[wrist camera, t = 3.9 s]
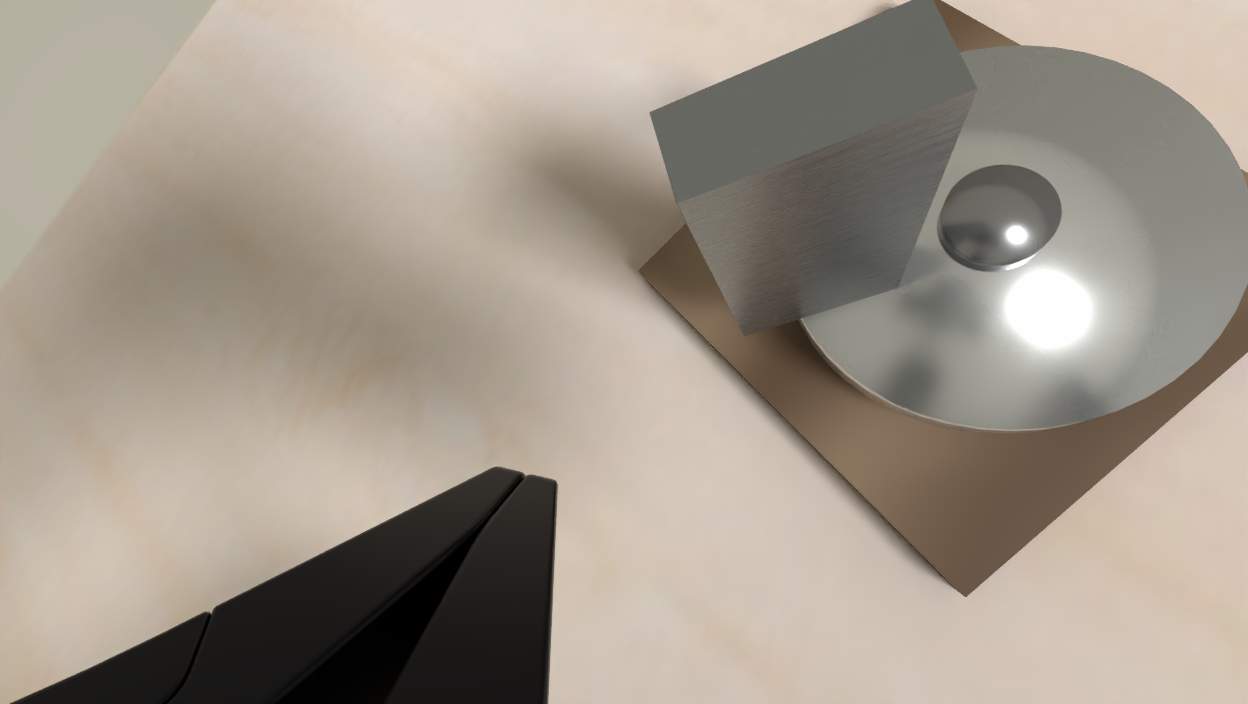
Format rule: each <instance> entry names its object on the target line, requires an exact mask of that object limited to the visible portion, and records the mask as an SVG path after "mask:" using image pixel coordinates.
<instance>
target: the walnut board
mask: <svg viewBox="0 0 1248 704" xmlns="http://www.w3.org/2000/svg"><path fill="white" fill-rule="evenodd" d="M933 1H934V3H935V5H936V7H937V9H938V11H939V13H940V15H941V16H942V18H943V20H944V22H945V24H946V26H947V28H948V30H949V32H950V34H951V36H952V38H953V40H954V42H955V44H956V46H957V48H958V50H959V52H964V51H969V50H975V49H983V48H991V47H999V46H1021V45H1019V44H1018V43H1016V42H1014V41H1012V40H1010V39H1009V38H1007V37H1005V36H1003V35H1002V34H1000V33H998V32H996V31H994V30H993V29H991V28H989V27H987V26H986V25H984V24H982V23H980V22H978V21H977V20H975V19H973V18H971V17H970V16H968V15H966V14H964V13H962V12H961V11H959V10H957V9H955V8H954V7H952V6H950V5H948V4H947V3H945V2H943V1H941V0H933ZM1241 171H1242V173H1243V176H1244V179H1245V182H1246V185H1247V188H1248V173H1247V172H1245V171H1243V170H1242V169H1241ZM639 272H640V273H641V274H642V276H643V277H644V278H645V279H646V280H647V281H648V282H649V283H650V284H651V285H652V286H653V287H654V288H655V289H656V290H657V291H658V292H659V293H660V294H661V295H662V296H663V297H664V298H665V299H666V300H667V301H668V302H669V303H670V304H671V305H672V306H673V307H674V308H675V309H676V310H677V311H678V312H679V313H680V314H681V315H682V316H683V317H684V318H685V319H686V320H687V321H688V322H689V323H690V324H691V325H692V326H693V327H694V328H695V329H696V330H697V331H698V332H699V333H700V334H701V335H702V336H703V337H704V338H705V339H706V340H707V341H708V342H709V343H710V344H711V345H712V346H713V347H714V348H715V349H716V350H717V351H718V352H719V353H720V354H721V355H722V356H723V357H724V358H725V359H726V360H727V361H728V362H729V363H730V364H731V365H732V366H733V367H734V368H735V369H736V370H737V371H738V372H739V373H740V374H741V375H742V376H743V377H744V378H745V379H746V380H747V381H748V382H749V383H750V384H751V385H752V386H753V387H754V388H755V389H756V390H757V391H758V392H759V393H760V394H761V395H762V396H763V397H764V398H765V399H766V400H767V401H768V402H769V403H770V404H771V405H772V406H773V407H774V408H775V409H776V410H777V411H778V412H779V413H780V414H781V415H782V416H783V417H784V418H785V419H786V420H787V421H788V422H789V423H790V424H791V425H792V426H793V427H794V428H795V429H796V430H797V431H798V432H799V433H800V434H801V435H802V436H803V437H804V438H805V439H806V440H807V441H808V442H809V443H810V444H811V445H812V446H813V447H814V448H815V449H816V450H817V451H818V452H819V453H820V454H821V455H822V456H823V457H824V458H825V459H826V460H827V461H828V462H829V463H830V464H831V465H832V466H833V467H834V468H835V469H836V470H837V471H838V472H839V473H840V474H841V475H842V476H843V477H844V478H845V479H846V480H847V481H848V482H849V483H850V484H851V485H852V486H853V487H854V488H855V489H856V490H857V491H858V492H859V493H860V494H861V495H862V496H863V497H864V498H865V499H866V500H867V501H868V502H869V503H870V504H871V505H872V506H873V507H874V508H875V509H876V510H877V511H878V512H879V513H880V514H881V515H882V516H883V517H884V518H885V519H886V520H887V521H888V522H889V523H890V524H891V525H892V526H893V527H894V528H895V529H896V530H897V531H898V532H899V533H900V534H901V535H902V536H903V537H904V538H905V539H906V540H907V541H908V542H909V543H910V544H911V545H912V546H913V547H914V548H915V549H916V550H917V551H918V552H919V553H920V554H921V555H922V556H923V557H924V558H925V559H926V560H927V561H928V562H929V563H930V564H931V565H932V566H933V567H934V568H935V569H936V570H937V571H938V572H939V573H940V574H941V575H942V576H943V577H944V578H945V579H946V580H947V581H948V582H949V583H950V584H951V585H952V586H953V587H954V588H955V589H956V590H957V591H958V592H959V593H961V594H962V595H963V596H965V597H967V596H968V595H969V594H970V593H971V592H972V591H974V590H975V589H976V588H977V587H978V586H979V585H980V584H982V583H983V582H984V581H985V580H986V579H987V578H988V577H990V576H991V575H992V574H993V573H994V572H995V571H997V570H998V569H999V568H1000V567H1001V566H1002V565H1003V564H1005V563H1006V562H1007V561H1008V560H1009V559H1010V558H1011V557H1013V556H1014V555H1015V554H1016V553H1017V552H1018V551H1020V550H1021V549H1022V548H1023V547H1024V546H1025V545H1026V544H1028V543H1029V542H1030V541H1031V540H1032V539H1033V538H1034V537H1036V536H1037V535H1038V534H1039V533H1040V532H1041V531H1043V530H1044V529H1045V528H1046V527H1047V526H1048V525H1049V524H1051V523H1052V522H1053V521H1054V520H1055V519H1056V518H1057V517H1059V516H1060V515H1061V514H1062V513H1063V512H1064V511H1066V510H1067V509H1068V508H1069V507H1070V506H1071V505H1072V504H1074V503H1075V502H1076V501H1077V500H1078V499H1079V498H1080V497H1082V496H1083V495H1084V494H1085V493H1086V492H1087V491H1089V490H1090V489H1091V488H1092V487H1093V486H1094V485H1095V484H1097V483H1098V482H1099V481H1100V480H1101V479H1102V478H1103V477H1105V476H1106V475H1107V474H1108V473H1109V472H1110V471H1112V470H1113V469H1114V468H1115V467H1116V466H1117V465H1118V464H1120V463H1121V462H1122V461H1123V460H1124V459H1125V458H1126V457H1128V456H1129V455H1130V454H1131V453H1132V452H1133V451H1135V450H1136V449H1137V448H1138V447H1139V446H1140V445H1141V444H1143V443H1144V442H1145V441H1146V440H1147V439H1148V438H1149V437H1151V436H1152V435H1153V434H1154V433H1155V432H1156V431H1158V430H1159V429H1160V428H1161V427H1162V426H1163V425H1164V424H1166V423H1167V422H1168V421H1169V420H1170V419H1171V418H1172V417H1174V416H1175V415H1176V414H1177V413H1178V412H1179V411H1180V410H1182V409H1183V408H1184V407H1185V406H1186V405H1187V404H1189V403H1190V402H1191V401H1192V400H1193V399H1194V398H1195V397H1197V396H1198V395H1199V394H1200V393H1201V392H1202V391H1203V390H1205V389H1206V388H1207V387H1208V386H1209V385H1210V384H1212V383H1213V382H1214V381H1215V380H1216V379H1217V378H1218V377H1220V376H1221V375H1222V374H1223V373H1224V372H1225V371H1226V370H1228V369H1229V368H1230V367H1231V366H1232V365H1233V364H1235V363H1236V362H1237V361H1238V360H1239V359H1240V358H1241V357H1243V356H1244V355H1245V354H1246V353H1247V352H1248V284H1247V286H1246V289H1245V291H1244V293H1243V296H1242V298H1241V300H1240V303H1239V305H1238V308H1237V310H1236V312H1235V313H1234V315H1233V316H1232V318H1231V320H1230V321H1229V323H1228V324H1227V326H1226V327H1225V329H1224V331H1223V332H1222V334H1221V335H1220V337H1219V338H1218V339H1217V340H1216V341H1215V342H1214V344H1213V345H1212V346H1211V347H1210V348H1209V349H1208V350H1207V351H1206V353H1205V354H1204V355H1203V356H1202V357H1201V358H1200V359H1199V360H1198V361H1197V362H1196V363H1195V364H1193V365H1192V366H1191V367H1190V368H1189V369H1187V370H1186V371H1185V372H1184V373H1183V374H1181V375H1180V376H1179V377H1178V378H1177V379H1175V380H1174V381H1173V382H1171V383H1169V384H1168V385H1166V386H1165V387H1163V388H1161V389H1160V390H1158V391H1156V392H1155V393H1153V394H1152V395H1150V396H1148V397H1147V398H1145V399H1143V400H1140V401H1138V402H1136V403H1134V404H1132V405H1129V406H1127V407H1125V408H1123V409H1120V410H1118V411H1116V412H1113V413H1110V414H1106V415H1103V416H1100V417H1097V418H1093V419H1090V420H1087V421H1084V422H1080V423H1075V424H1071V425H1067V426H1063V427H1058V428H1052V429H1046V430H1041V431H1035V432H1026V433H1010V434H992V433H972V432H966V431H960V430H954V429H948V428H942V427H939V426H935V425H932V424H928V423H925V422H921V421H918V420H914V419H912V418H910V417H907V416H905V415H903V414H900V413H898V412H895V411H893V410H891V409H888V408H887V407H885V406H883V405H881V404H880V403H878V402H876V401H874V400H873V399H871V398H869V397H867V396H866V395H864V394H863V393H862V392H860V391H859V390H857V389H856V388H855V387H853V386H852V385H851V384H849V383H848V382H847V381H845V380H844V379H843V378H842V377H841V376H840V375H839V374H838V373H837V372H836V371H835V370H834V369H833V368H832V367H831V366H830V365H829V364H828V363H827V362H826V361H825V360H824V359H823V357H822V356H821V355H820V354H819V352H818V351H817V350H816V349H815V347H814V346H813V345H812V343H811V341H810V340H809V338H808V336H807V335H806V333H805V331H804V330H803V328H802V326H801V325H800V322H799V320H795V321H792V322H789V323H786V324H782V325H779V326H776V327H773V328H770V329H766V330H763V331H760V332H757V333H754V334H751V335H747V336H743V334H742V332H741V330H740V328H739V326H738V324H737V322H736V320H735V318H734V316H733V314H732V312H731V310H730V308H729V306H728V304H727V302H726V300H725V298H724V296H723V294H722V292H721V290H720V288H719V286H718V284H717V282H716V280H715V278H714V276H713V274H712V272H711V271H710V269H709V267H708V265H707V263H706V261H705V259H704V257H703V255H702V253H701V251H700V249H699V247H698V245H697V243H696V241H695V239H694V237H693V235H692V233H691V231H690V229H689V227H688V225H687V223H686V224H685V225H684V226H683V227H682V228H681V229H680V230H679V231H678V232H677V233H676V234H675V235H674V236H673V237H672V238H671V239H670V240H669V241H668V242H667V243H666V244H665V245H664V246H663V247H662V248H661V249H660V250H659V251H658V252H657V253H656V254H655V255H654V256H653V257H652V258H651V259H650V260H649V261H648V262H647V263H646V264H645V265H644V266H643V267H642V268H641V269H640V270H639Z"/></svg>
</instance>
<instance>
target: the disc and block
mask: <svg viewBox="0 0 1248 704" xmlns="http://www.w3.org/2000/svg"><path fill="white" fill-rule="evenodd" d="M650 115H651V119H652V122H653V125H654V129H655V132H656V136H657V139H658V142H659V146H660V149H661V152H662V156H663V159H664V163H665V166H666V169H667V173H668V176H669V179H670V183H671V186H672V190H673V193H674V196H675V200H676V203H677V205H678V207H679V209H680V211H681V213H682V215H683V217H684V219H685V221H686V223H687V225H688V227H689V229H690V231H691V233H692V235H693V237H694V239H695V241H696V243H697V245H698V247H699V249H700V251H701V253H702V255H703V257H704V259H705V261H706V263H707V265H708V267H709V269H710V271H711V272H712V274H713V276H714V278H715V280H716V282H717V284H718V286H719V288H720V290H721V292H722V294H723V296H724V298H725V300H726V302H727V304H728V306H729V308H730V310H731V312H732V314H733V316H734V318H735V320H736V322H737V324H738V326H739V328H740V330H741V332H742V334H743V336H747V335H751V334H754V333H757V332H760V331H763V330H766V329H770V328H773V327H776V326H779V325H782V324H786V323H789V322H792V321H795V320H799V322H800V325H801V326H802V328H803V330H804V331H805V333H806V335H807V336H808V338H809V340H810V341H811V343H812V345H813V346H814V347H815V349H816V350H817V351H818V352H819V354H820V355H821V356H822V357H823V359H824V360H825V361H826V362H827V363H828V364H829V365H830V366H831V367H832V368H833V369H834V370H835V371H836V372H837V373H838V374H839V375H840V376H841V377H842V378H843V379H844V380H845V381H847V382H848V383H849V384H851V385H852V386H853V387H855V388H856V389H857V390H859V391H860V392H862V393H863V394H864V395H866V396H867V397H869V398H871V399H873V400H874V401H876V402H878V403H880V404H881V405H883V406H885V407H887V408H888V409H891V410H893V411H895V412H898V413H900V414H903V415H905V416H907V417H910V418H912V419H914V420H918V421H921V422H925V423H928V424H932V425H935V426H939V427H942V428H948V429H954V430H960V431H966V432H972V433H992V434H1010V433H1026V432H1035V431H1041V430H1046V429H1052V428H1058V427H1063V426H1067V425H1071V424H1075V423H1080V422H1084V421H1087V420H1090V419H1093V418H1097V417H1100V416H1103V415H1106V414H1110V413H1113V412H1116V411H1118V410H1120V409H1123V408H1125V407H1127V406H1129V405H1132V404H1134V403H1136V402H1138V401H1140V400H1143V399H1145V398H1147V397H1148V396H1150V395H1152V394H1153V393H1155V392H1156V391H1158V390H1160V389H1161V388H1163V387H1165V386H1166V385H1168V384H1169V383H1171V382H1173V381H1174V380H1175V379H1177V378H1178V377H1179V376H1180V375H1181V374H1183V373H1184V372H1185V371H1186V370H1187V369H1189V368H1190V367H1191V366H1192V365H1193V364H1195V363H1196V362H1197V361H1198V360H1199V359H1200V358H1201V357H1202V356H1203V355H1204V354H1205V353H1206V351H1207V350H1208V349H1209V348H1210V347H1211V346H1212V345H1213V344H1214V342H1215V341H1216V340H1217V339H1218V338H1219V337H1220V335H1221V334H1222V332H1223V331H1224V329H1225V327H1226V326H1227V324H1228V323H1229V321H1230V320H1231V318H1232V316H1233V315H1234V313H1235V312H1236V310H1237V308H1238V305H1239V303H1240V300H1241V298H1242V296H1243V293H1244V291H1245V289H1246V286H1247V284H1248V188H1247V185H1246V182H1245V179H1244V176H1243V173H1242V171H1241V169H1240V167H1239V165H1238V163H1237V161H1236V159H1235V157H1234V156H1233V154H1232V152H1231V150H1230V148H1229V147H1228V145H1227V144H1226V143H1225V141H1224V140H1223V139H1222V137H1221V136H1220V135H1219V133H1218V132H1217V131H1216V129H1215V128H1214V127H1213V125H1212V124H1211V123H1210V122H1209V121H1208V120H1207V119H1206V118H1205V117H1204V116H1203V115H1202V114H1201V113H1200V112H1199V111H1198V110H1197V109H1196V108H1195V107H1194V106H1193V105H1192V104H1190V103H1189V102H1188V101H1186V100H1185V99H1184V98H1182V97H1181V96H1180V95H1178V94H1177V93H1175V92H1174V91H1173V90H1171V89H1170V88H1169V87H1167V86H1165V85H1164V84H1162V83H1160V82H1158V81H1157V80H1155V79H1153V78H1151V77H1149V76H1148V75H1146V74H1144V73H1142V72H1140V71H1138V70H1135V69H1133V68H1130V67H1128V66H1126V65H1123V64H1121V63H1118V62H1116V61H1113V60H1110V59H1106V58H1103V57H1099V56H1096V55H1092V54H1089V53H1085V52H1079V51H1073V50H1067V49H1062V48H1055V47H1040V46H999V47H991V48H983V49H975V50H969V51H964V52H959V50H958V48H957V46H956V44H955V42H954V40H953V38H952V36H951V34H950V32H949V30H948V28H947V26H946V24H945V22H944V20H943V18H942V16H941V15H940V13H939V11H938V9H937V7H936V5H935V3H934V1H933V0H911V1H909V2H907V3H904V4H902V5H900V6H897V7H895V8H893V9H890V10H888V11H886V12H883V13H881V14H879V15H876V16H874V17H872V18H869V19H867V20H865V21H862V22H860V23H858V24H855V25H853V26H851V27H848V28H846V29H844V30H841V31H839V32H837V33H834V34H832V35H829V36H827V37H825V38H822V39H820V40H818V41H815V42H813V43H811V44H808V45H806V46H804V47H801V48H799V49H797V50H794V51H792V52H790V53H787V54H785V55H783V56H780V57H778V58H776V59H773V60H771V61H769V62H766V63H764V64H762V65H759V66H757V67H755V68H752V69H750V70H748V71H745V72H743V73H741V74H738V75H736V76H734V77H731V78H729V79H727V80H724V81H722V82H720V83H717V84H715V85H712V86H710V87H708V88H705V89H703V90H701V91H698V92H696V93H694V94H691V95H689V96H687V97H684V98H682V99H680V100H677V101H675V102H673V103H670V104H668V105H666V106H663V107H661V108H659V109H656V110H654V111H652V112H650Z"/></svg>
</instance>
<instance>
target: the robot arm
mask: <svg viewBox="0 0 1248 704" xmlns="http://www.w3.org/2000/svg"><path fill="white" fill-rule="evenodd" d="M557 492H558V484H557V482H556V481H555V480H553V479H549V478H545V477H541V476H536V475H527V476H525V474H524V473H522V472H519V471H515V470H511V469H507V468H503V467H494V468H491V469H489V470H487V471H485V472H483V473H481V474H479V475H477V476H475V477H473V478H471V479H469V480H467V481H465V482H463V483H461V484H459V485H457V486H455V487H453V488H451V489H449V490H447V491H445V492H443V493H441V494H439V495H437V496H435V497H433V498H431V499H429V500H427V501H425V502H423V503H421V504H419V505H417V506H415V507H413V508H411V509H409V510H407V511H405V512H403V513H401V514H399V515H397V516H395V517H393V518H391V519H389V520H387V521H385V522H383V523H381V524H379V525H377V526H375V527H373V528H371V529H369V530H367V531H365V532H363V533H361V534H359V535H357V536H355V537H353V538H351V539H349V540H347V541H345V542H343V543H341V544H339V545H337V546H335V547H333V548H331V549H329V550H327V551H325V552H323V553H321V554H319V555H317V556H315V557H313V558H311V559H309V560H307V561H306V562H304V563H302V564H300V565H298V566H296V567H294V568H292V569H290V570H288V571H286V572H284V573H282V574H280V575H278V576H276V577H274V578H272V579H270V580H268V581H266V582H264V583H262V584H260V585H258V586H256V587H254V588H252V589H250V590H248V591H246V592H244V593H242V594H240V595H238V596H236V597H234V598H232V599H230V600H228V601H226V602H224V603H222V604H220V605H218V606H216V607H215V608H214V609H213V611H212V614H211V613H210V612H203V613H201V614H199V615H197V616H195V617H193V618H191V619H189V620H187V621H185V622H183V623H181V624H179V625H177V626H175V627H173V628H171V629H169V630H167V631H165V632H163V633H161V634H159V635H157V636H155V637H153V638H151V639H149V640H147V641H145V642H143V643H141V644H139V645H136V646H134V647H132V648H130V649H128V650H126V651H124V652H122V653H120V654H118V655H116V656H114V657H112V658H109V659H107V660H105V661H103V662H101V663H99V664H97V665H95V666H93V667H91V668H89V669H86V670H84V671H82V672H80V673H77V674H75V675H73V676H71V677H68V678H66V679H64V680H62V681H60V682H57V683H55V684H53V685H51V686H48V687H46V688H44V689H42V690H39V691H37V692H35V693H33V694H30V695H28V696H26V697H24V698H21V699H19V700H17V701H15V702H12V703H10V704H548V695H549V672H550V650H551V627H552V605H553V582H554V560H555V537H556V515H557Z"/></svg>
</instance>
